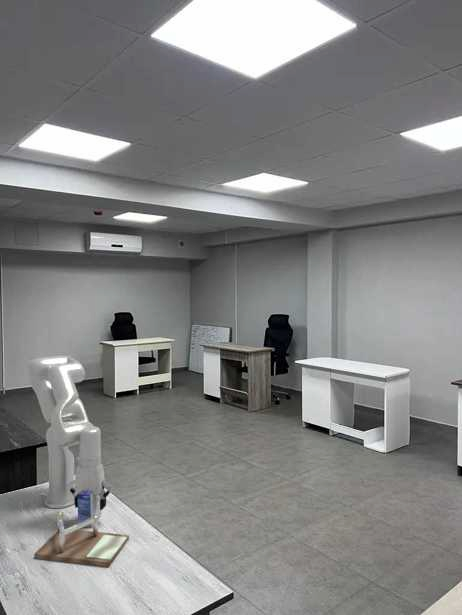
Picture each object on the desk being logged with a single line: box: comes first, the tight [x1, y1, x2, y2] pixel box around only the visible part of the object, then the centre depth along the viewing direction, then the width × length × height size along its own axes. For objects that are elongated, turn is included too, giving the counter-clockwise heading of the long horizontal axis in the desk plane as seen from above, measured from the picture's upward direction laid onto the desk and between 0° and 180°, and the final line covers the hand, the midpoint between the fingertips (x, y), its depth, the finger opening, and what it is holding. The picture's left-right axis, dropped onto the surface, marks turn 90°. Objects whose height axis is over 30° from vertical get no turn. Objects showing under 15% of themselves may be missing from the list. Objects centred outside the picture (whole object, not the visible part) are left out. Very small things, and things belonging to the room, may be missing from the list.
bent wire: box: [56, 511, 99, 553], centre depth 152 cm, size 15×13×7 cm
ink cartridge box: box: [77, 492, 102, 528], centre depth 170 cm, size 10×6×14 cm, turn 174°
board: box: [34, 527, 130, 568], centre depth 151 cm, size 25×16×2 cm, turn 81°
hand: (90, 507), depth 169 cm, fingers open, 9 cm apart
